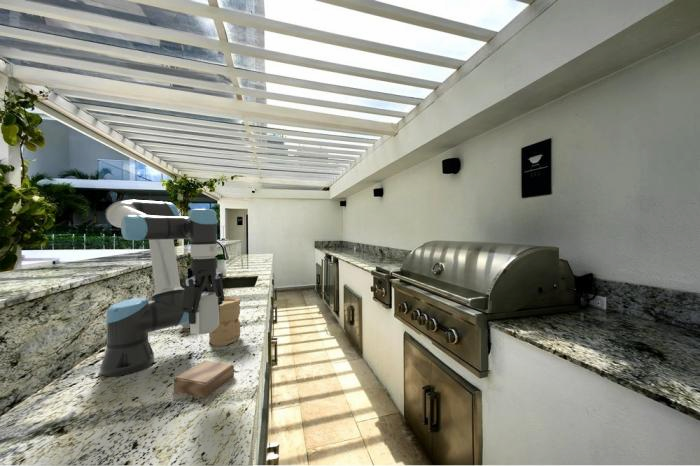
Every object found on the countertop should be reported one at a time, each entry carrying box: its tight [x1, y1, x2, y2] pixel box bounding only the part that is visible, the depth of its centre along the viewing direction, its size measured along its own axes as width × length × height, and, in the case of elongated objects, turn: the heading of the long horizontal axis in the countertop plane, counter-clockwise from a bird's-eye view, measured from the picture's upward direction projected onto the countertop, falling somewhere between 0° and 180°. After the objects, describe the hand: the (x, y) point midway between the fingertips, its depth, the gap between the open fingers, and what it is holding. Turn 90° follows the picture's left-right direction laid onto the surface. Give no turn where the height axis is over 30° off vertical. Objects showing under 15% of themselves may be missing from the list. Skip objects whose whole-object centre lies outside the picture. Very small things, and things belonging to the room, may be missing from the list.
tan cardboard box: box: [173, 359, 235, 399], centre depth 87 cm, size 12×12×4 cm
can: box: [192, 291, 218, 335], centre depth 87 cm, size 8×8×12 cm
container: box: [208, 296, 241, 348], centre depth 121 cm, size 13×13×18 cm
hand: (205, 328), depth 87 cm, fingers closed on can, 7 cm apart
